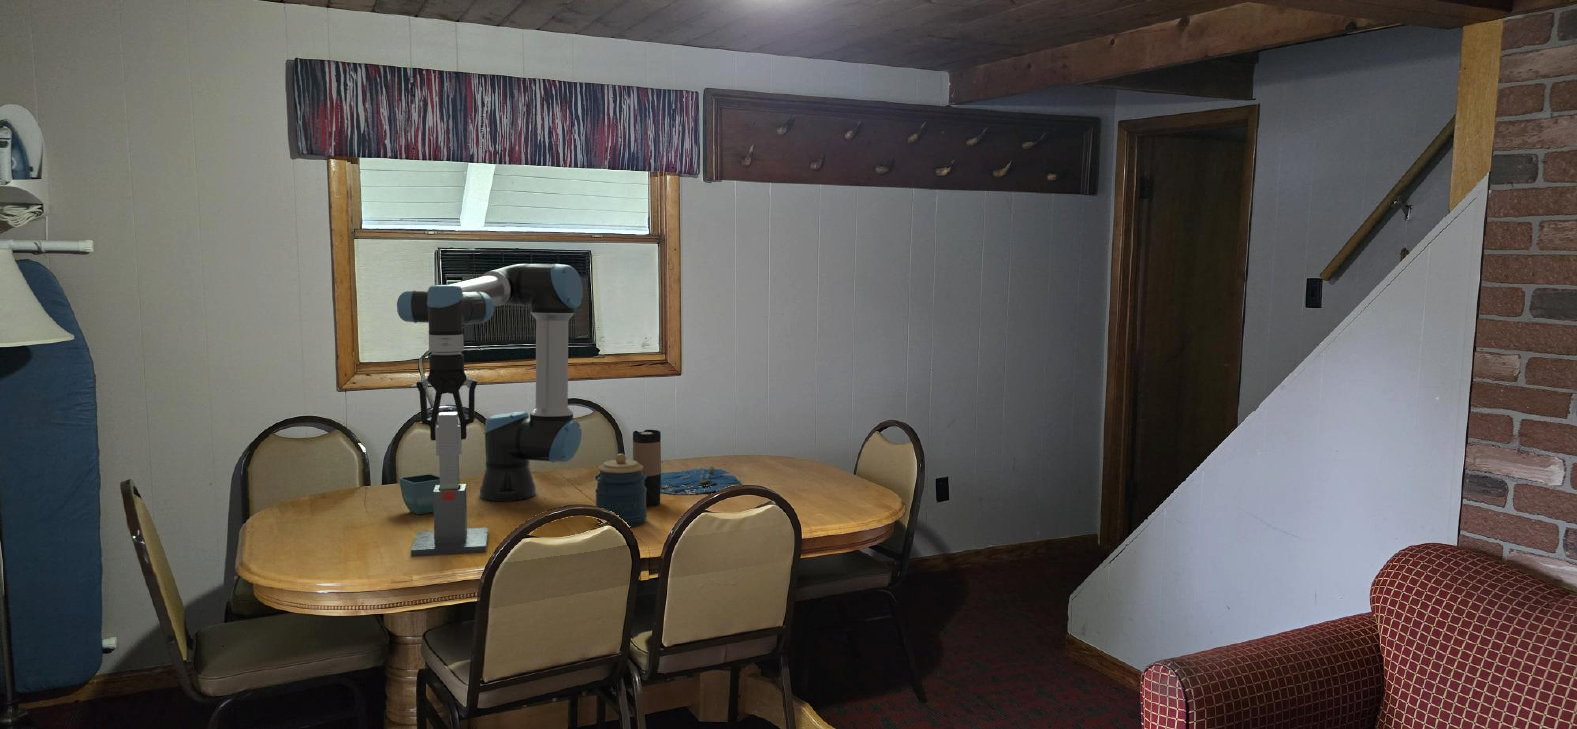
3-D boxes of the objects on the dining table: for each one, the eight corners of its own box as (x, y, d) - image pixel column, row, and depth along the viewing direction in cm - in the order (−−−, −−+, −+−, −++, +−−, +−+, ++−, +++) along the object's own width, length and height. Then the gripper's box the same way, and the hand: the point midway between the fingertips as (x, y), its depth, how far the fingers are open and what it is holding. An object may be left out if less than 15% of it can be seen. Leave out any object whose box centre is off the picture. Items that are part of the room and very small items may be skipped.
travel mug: (655, 508, 272) (655, 434, 270) (628, 506, 274) (628, 433, 272) (664, 501, 280) (664, 430, 278) (638, 500, 281) (638, 428, 279)
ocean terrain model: (706, 506, 282) (706, 488, 281) (621, 491, 297) (621, 474, 296) (762, 482, 307) (762, 465, 307) (681, 469, 322) (681, 453, 321)
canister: (601, 515, 265) (600, 448, 263) (650, 516, 265) (650, 449, 263) (590, 528, 252) (589, 458, 250) (642, 529, 252) (641, 459, 250)
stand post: (440, 514, 234) (438, 415, 231) (442, 509, 237) (439, 412, 235) (459, 513, 235) (456, 414, 232) (460, 509, 238) (457, 412, 236)
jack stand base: (411, 556, 227) (409, 497, 226) (418, 537, 242) (416, 481, 241) (485, 552, 231) (484, 494, 230) (488, 533, 246) (487, 478, 245)
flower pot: (431, 505, 273) (430, 473, 272) (446, 512, 266) (446, 478, 265) (399, 511, 267) (398, 477, 266) (414, 517, 260) (413, 483, 259)
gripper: (404, 355, 226) (407, 458, 229) (484, 354, 230) (487, 455, 233) (408, 351, 233) (411, 452, 236) (486, 350, 238) (488, 449, 240)
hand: (449, 453), depth 234 cm, fingers closed on stand post, 4 cm apart
